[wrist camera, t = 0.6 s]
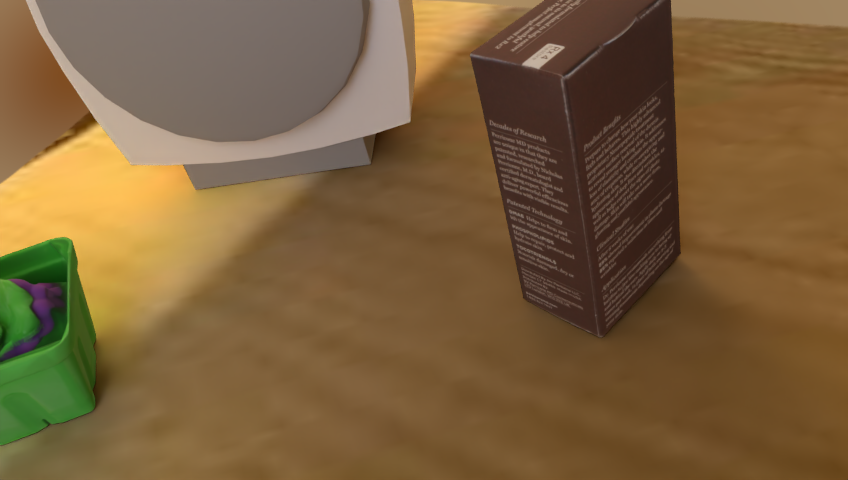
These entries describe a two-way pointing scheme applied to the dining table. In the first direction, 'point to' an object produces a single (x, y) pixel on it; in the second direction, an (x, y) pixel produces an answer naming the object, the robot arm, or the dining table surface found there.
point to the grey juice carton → (238, 80)
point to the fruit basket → (43, 340)
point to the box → (585, 152)
